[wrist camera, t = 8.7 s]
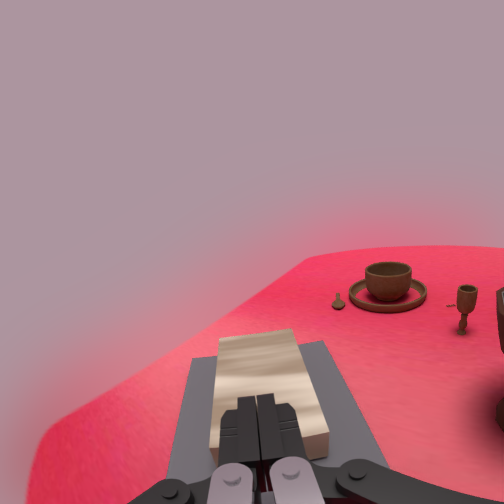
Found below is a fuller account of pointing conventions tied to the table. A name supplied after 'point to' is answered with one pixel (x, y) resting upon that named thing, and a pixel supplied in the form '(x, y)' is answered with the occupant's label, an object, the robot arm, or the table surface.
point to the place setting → (402, 291)
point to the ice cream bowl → (503, 327)
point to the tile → (267, 384)
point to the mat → (329, 397)
